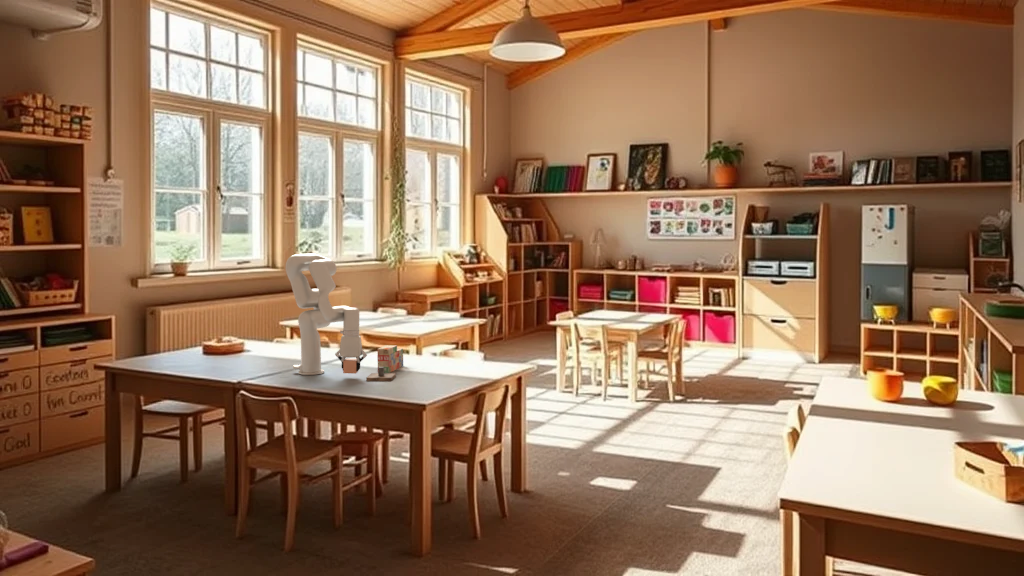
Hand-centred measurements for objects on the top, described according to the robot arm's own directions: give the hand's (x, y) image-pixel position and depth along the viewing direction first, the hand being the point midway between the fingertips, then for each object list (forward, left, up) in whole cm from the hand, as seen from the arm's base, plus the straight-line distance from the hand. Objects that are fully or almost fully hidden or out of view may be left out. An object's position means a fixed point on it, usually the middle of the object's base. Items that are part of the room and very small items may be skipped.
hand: (350, 369), depth 398 cm
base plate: (+15, 0, -4) cm, 15 cm away
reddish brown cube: (0, 0, -1) cm, 1 cm away
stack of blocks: (+15, +26, -4) cm, 30 cm away
